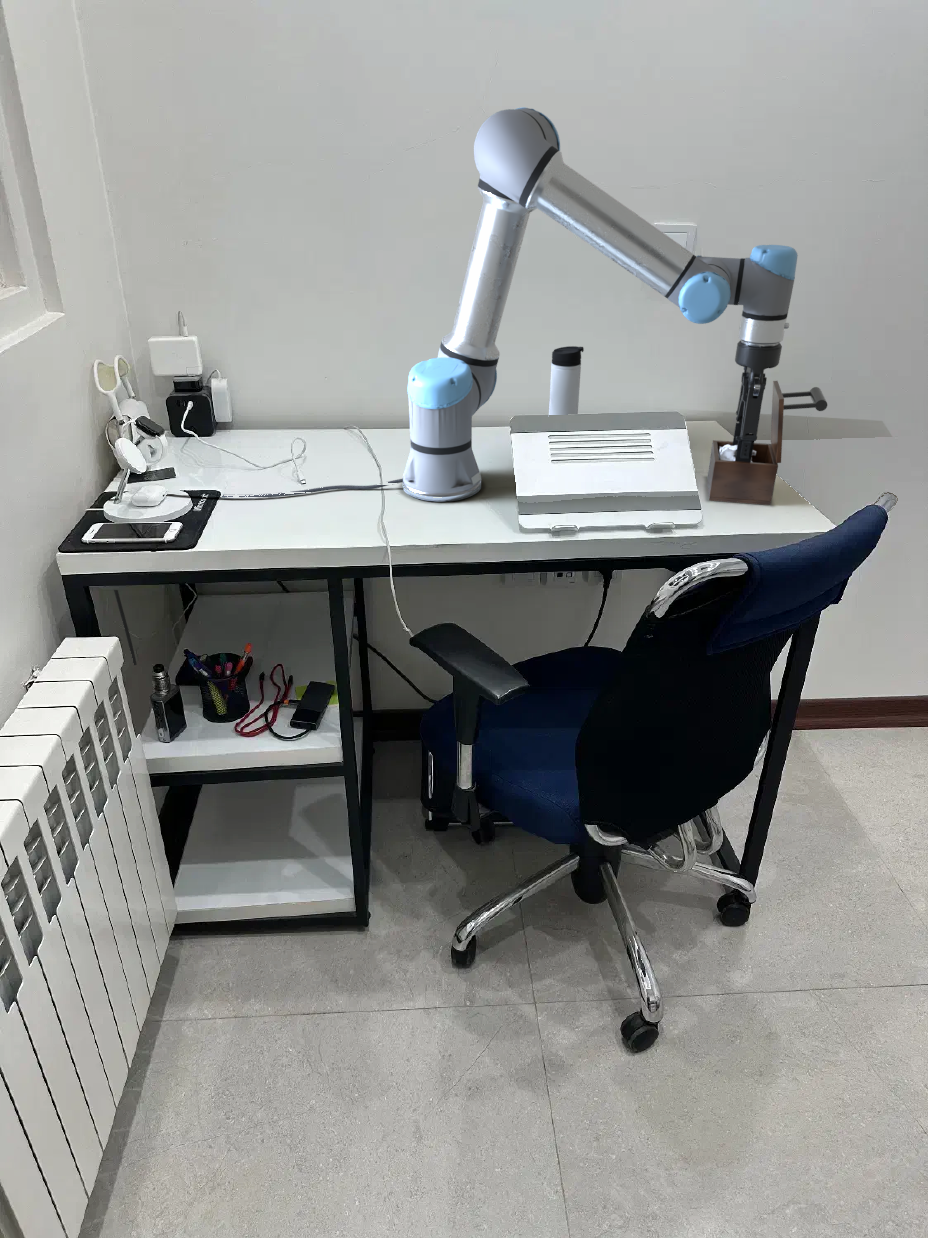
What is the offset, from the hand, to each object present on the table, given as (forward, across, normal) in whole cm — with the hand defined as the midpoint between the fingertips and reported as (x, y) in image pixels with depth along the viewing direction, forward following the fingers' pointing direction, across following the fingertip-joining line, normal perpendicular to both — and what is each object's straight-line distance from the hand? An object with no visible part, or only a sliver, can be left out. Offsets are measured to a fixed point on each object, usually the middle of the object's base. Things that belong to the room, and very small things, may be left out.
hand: (739, 464), depth 163 cm
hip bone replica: (+1, 0, +1) cm, 1 cm away
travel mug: (+6, +23, +36) cm, 43 cm away
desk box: (+5, 0, 0) cm, 5 cm away
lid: (-9, 0, -5) cm, 10 cm away
